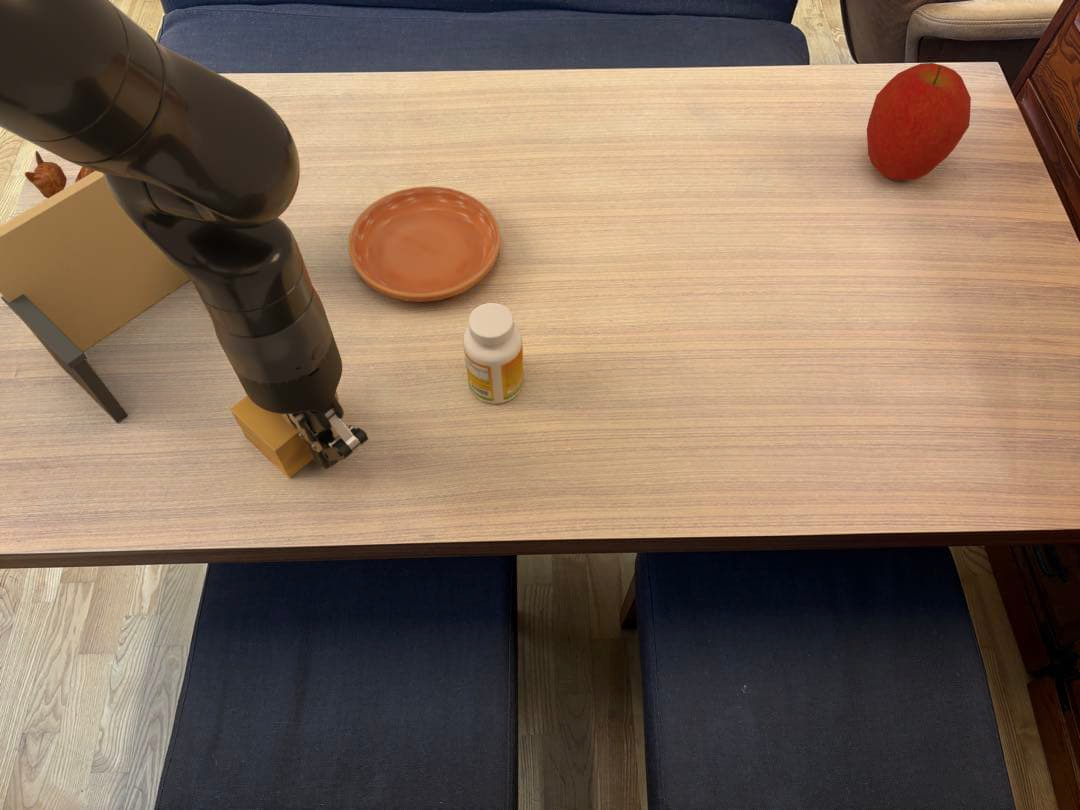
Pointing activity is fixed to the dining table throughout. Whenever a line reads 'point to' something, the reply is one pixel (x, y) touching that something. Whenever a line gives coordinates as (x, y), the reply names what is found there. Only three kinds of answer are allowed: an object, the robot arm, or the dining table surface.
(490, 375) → the supplement bottle
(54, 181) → the cat figurine
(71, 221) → the small wooden bench
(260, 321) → the robot arm
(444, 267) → the saucer
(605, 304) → the dining table surface
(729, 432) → the dining table surface
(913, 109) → the apple
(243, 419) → the box
